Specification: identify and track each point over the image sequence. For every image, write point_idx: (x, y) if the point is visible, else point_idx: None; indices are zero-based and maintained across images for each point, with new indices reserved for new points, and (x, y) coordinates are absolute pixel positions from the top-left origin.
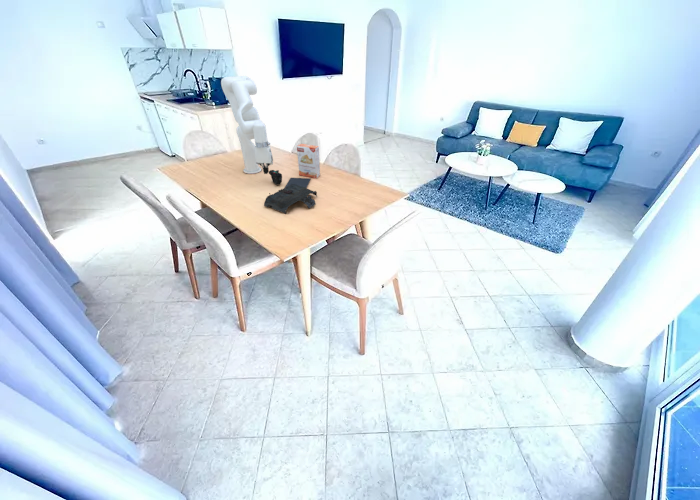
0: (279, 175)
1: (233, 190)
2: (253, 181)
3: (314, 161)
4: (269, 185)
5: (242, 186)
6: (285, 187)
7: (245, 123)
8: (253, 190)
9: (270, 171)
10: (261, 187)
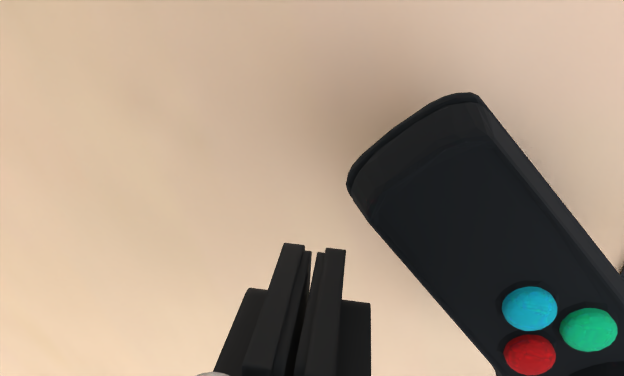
0: None
1: (27, 339)
2: (90, 98)
3: None
4: (369, 238)
5: (50, 257)
6: None
7: None
8: (220, 351)
9: (409, 246)
10: None
